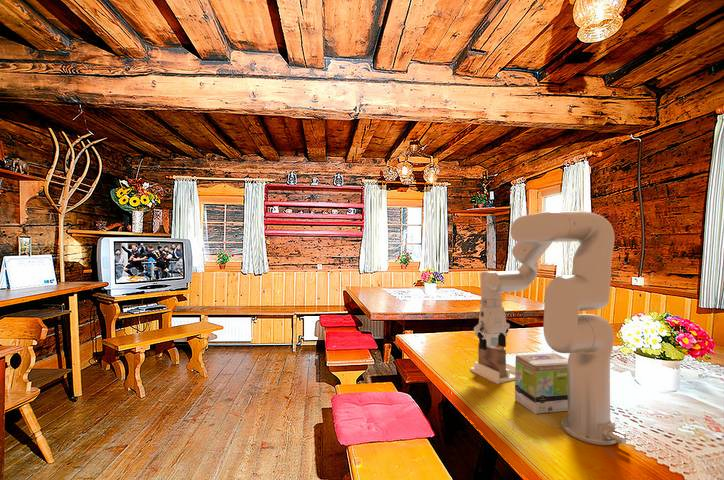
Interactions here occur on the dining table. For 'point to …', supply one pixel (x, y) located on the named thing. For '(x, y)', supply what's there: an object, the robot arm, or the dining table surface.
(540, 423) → the dining table surface
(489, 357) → the walnut board
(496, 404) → the dining table surface
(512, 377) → the rack
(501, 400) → the dining table surface
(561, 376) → the tea box
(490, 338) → the milk bottle
